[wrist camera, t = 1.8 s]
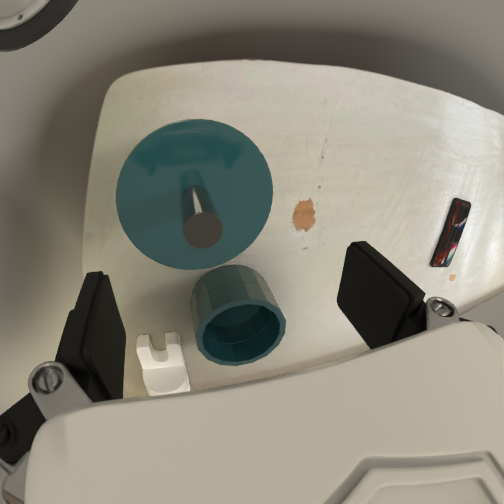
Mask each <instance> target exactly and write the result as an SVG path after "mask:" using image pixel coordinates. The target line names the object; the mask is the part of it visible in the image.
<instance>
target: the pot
mask: <svg viewBox="0 0 504 504" xmlns="http://www.w3.org/2000/svg"><path fill="white" fill-rule="evenodd" d="M190 304H191V311H192V318H193V325H194V331H195V337H196V342H197V347H198V350H199V351H200V352H201V353H202V354H203V355H204V356H205V357H206V359H208V360H210V361H212V362H215V363H217V364H220V365H230V366H238V365H243V364H248V363H253V362H255V361H257V360H259V359H261V358H263V357H265V356H267V355H268V354H269V353H270V352H271V351H272V350H274V349H275V348H276V347H277V346H278V345H279V343H280V341H281V340H282V338H283V336H284V334H285V325H286V320H285V318H284V316H283V314H282V312H281V310H280V308H279V306H278V304H277V303H276V301H275V299H274V297H273V295H272V293H271V291H270V289H269V287H268V286H267V284H266V282H265V280H264V278H263V277H262V276H261V275H260V274H259V273H258V272H257V271H255V270H253V269H251V268H249V267H246V266H241V265H227V266H222V267H219V268H216V269H214V270H212V271H210V272H208V273H207V274H205V275H204V276H203V277H202V278H201V279H200V280H199V281H198V282H197V283H196V285H195V287H194V288H193V291H192V294H191V300H190Z"/></svg>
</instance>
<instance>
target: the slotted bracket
mask: <svg viewBox="0 0 504 504" xmlns="http://www.w3.org/2000/svg"><path fill="white" fill-rule="evenodd" d="M165 342H166V348H167V349H165V350H162V351H158V350H155V349H154V348H153V347H152V344H151V340H150V337H149V335H140V336H138V337H137V346H136V352H137V354H138V357H139V360H140V363H141V365H142V368H143V381H144V384H145V386H146V388H147V391H148V393H149V394H150V396H155V395H164V394H172V393H180V392H187V391H190V385H189V378H188V374H187V369H186V365H185V360H184V355H183V351H182V346H181V341H180V336H179V334H178V333H177V332H169V333H165Z"/></svg>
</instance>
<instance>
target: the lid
mask: <svg viewBox="0 0 504 504" xmlns="http://www.w3.org/2000/svg"><path fill="white" fill-rule="evenodd" d="M272 198H273V185H272V178H271V173H270V170H269V167H268V164H267V162H266V160H265V158H264V156H263V154H262V153H261V151H260V150H259V149H258V147H257V146H256V145H255V144H254V143H253V142H252V141H251V140H250V139H249V138H248V137H247V136H246V135H244V134H243V133H242V132H240V131H238V130H237V129H235V128H233V127H231V126H229V125H226V124H224V123H221V122H217V121H213V120H206V119H187V120H181V121H177V122H173V123H170V124H167V125H165V126H163V127H161V128H159V129H157V130H155V131H154V132H152V133H151V134H149V135H148V136H147V137H145V138H144V139H143V140H142V141H141V142H140V143H139V144H138V145H137V146H136V147H135V148H134V149H133V151H132V152H131V153H130V155H129V156H128V158H127V159H126V161H125V163H124V165H123V167H122V169H121V172H120V175H119V179H118V183H117V189H116V205H117V212H118V216H119V220H120V222H121V225H122V227H123V229H124V231H125V233H126V235H127V236H128V238H129V239H130V240H131V242H132V243H133V244H134V245H135V246H136V247H137V248H138V249H139V250H140V251H141V252H142V253H143V254H145V255H146V256H147V257H149V258H151V259H152V260H154V261H156V262H158V263H160V264H163V265H165V266H169V267H173V268H178V269H187V270H196V269H205V268H210V267H214V266H217V265H220V264H222V263H225V262H227V261H229V260H231V259H233V258H234V257H236V256H238V255H239V254H240V253H242V252H243V251H244V250H245V249H246V248H248V247H249V246H250V245H251V244H252V243H253V241H254V240H255V239H256V238H257V237H258V235H259V234H260V232H261V231H262V229H263V227H264V225H265V223H266V221H267V219H268V216H269V213H270V210H271V205H272Z"/></svg>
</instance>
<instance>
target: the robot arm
mask: <svg viewBox="0 0 504 504" xmlns="http://www.w3.org/2000/svg"><path fill="white" fill-rule="evenodd" d="M49 1H50V0H0V30H7V29H11V28H14V27H16V26H19V25H21V24H23V23H24V22H26V21H28V20H29V19H31V18H32V17H33V16H35V15H36V14H37V13H38V12H39V11H40V10H41V9H43V8H44V7H45V6H46V4H47V3H48V2H49ZM425 294H426V293H425V292H423V291H422V290H421V289H420V288H419V287H418V286H417V285H416V284H415V283H414V282H412V281H411V280H410V279H409V278H408V277H407V276H406V275H405V274H403V273H402V272H401V271H400V270H399V269H398V268H397V267H395V266H394V265H393V264H392V263H391V262H390V261H389V260H387V259H386V258H385V257H384V256H383V255H382V254H380V253H379V252H378V251H377V250H376V249H374V248H373V247H372V246H371V245H370V244H368V243H367V242H366V241H358V242H352V243H351V244H350V246H349V247H348V248H347V251H346V256H345V262H344V267H343V272H342V277H341V282H340V287H339V291H338V296H337V304H338V306H339V308H340V309H341V310H342V312H343V313H344V314H345V316H346V317H347V318H348V320H349V321H350V322H351V324H352V325H353V326H354V328H355V329H356V330H357V332H358V333H359V334H360V336H361V337H362V338H363V340H364V341H365V342H366V344H367V345H368V346H369V348H370V349H371V350H369V351H366V352H363V353H360V354H356V355H353V356H350V357H346V358H343V359H340V360H336V361H333V362H329V363H326V364H322V365H318V366H314V367H311V368H307V369H303V370H299V371H295V372H290V373H286V374H282V375H277V376H273V377H268V378H263V379H259V380H254V381H249V382H244V383H238V384H233V385H227V386H221V387H215V388H208V389H202V390H195V391H187V392H180V393H172V394H164V395H155V396H145V397H134V398H125V399H123V379H124V360H125V346H126V333H125V329H124V326H123V323H122V320H121V317H120V314H119V310H118V307H117V304H116V300H115V297H114V294H113V290H112V287H111V283H110V279H109V276H108V275H104V274H103V272H102V271H98V272H89V273H87V274H86V277H85V279H84V282H83V285H82V288H81V290H80V293H79V296H78V299H77V302H76V305H75V308H74V310H71V311H70V312H69V315H68V318H67V321H66V324H65V327H64V330H63V334H62V337H61V340H60V344H59V347H58V351H57V354H56V358H55V361H48V362H44V363H42V364H40V365H38V366H37V367H36V368H35V369H34V370H33V371H32V372H31V374H30V376H29V379H28V388H29V390H30V393H28V394H27V395H26V396H25V397H23V398H22V399H21V400H20V401H18V402H17V403H16V404H14V405H13V406H12V407H11V408H9V409H8V410H7V411H6V412H4V413H3V414H2V415H0V504H504V340H503V339H502V338H501V337H500V336H499V335H498V333H497V332H496V331H495V329H494V328H493V327H491V326H488V325H485V324H482V323H478V322H473V321H470V320H467V319H463V318H459V315H458V311H457V308H456V307H455V306H454V304H452V303H451V302H450V301H448V300H446V299H444V298H441V297H431V298H429V299H428V300H427V301H426V303H425V302H424V301H423V299H424V296H425Z"/></svg>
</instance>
